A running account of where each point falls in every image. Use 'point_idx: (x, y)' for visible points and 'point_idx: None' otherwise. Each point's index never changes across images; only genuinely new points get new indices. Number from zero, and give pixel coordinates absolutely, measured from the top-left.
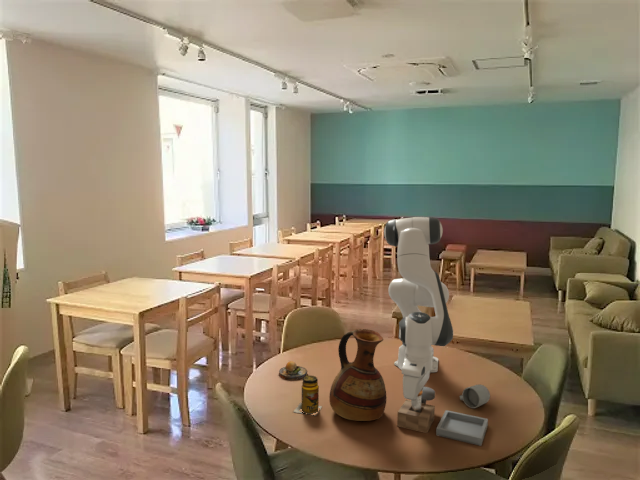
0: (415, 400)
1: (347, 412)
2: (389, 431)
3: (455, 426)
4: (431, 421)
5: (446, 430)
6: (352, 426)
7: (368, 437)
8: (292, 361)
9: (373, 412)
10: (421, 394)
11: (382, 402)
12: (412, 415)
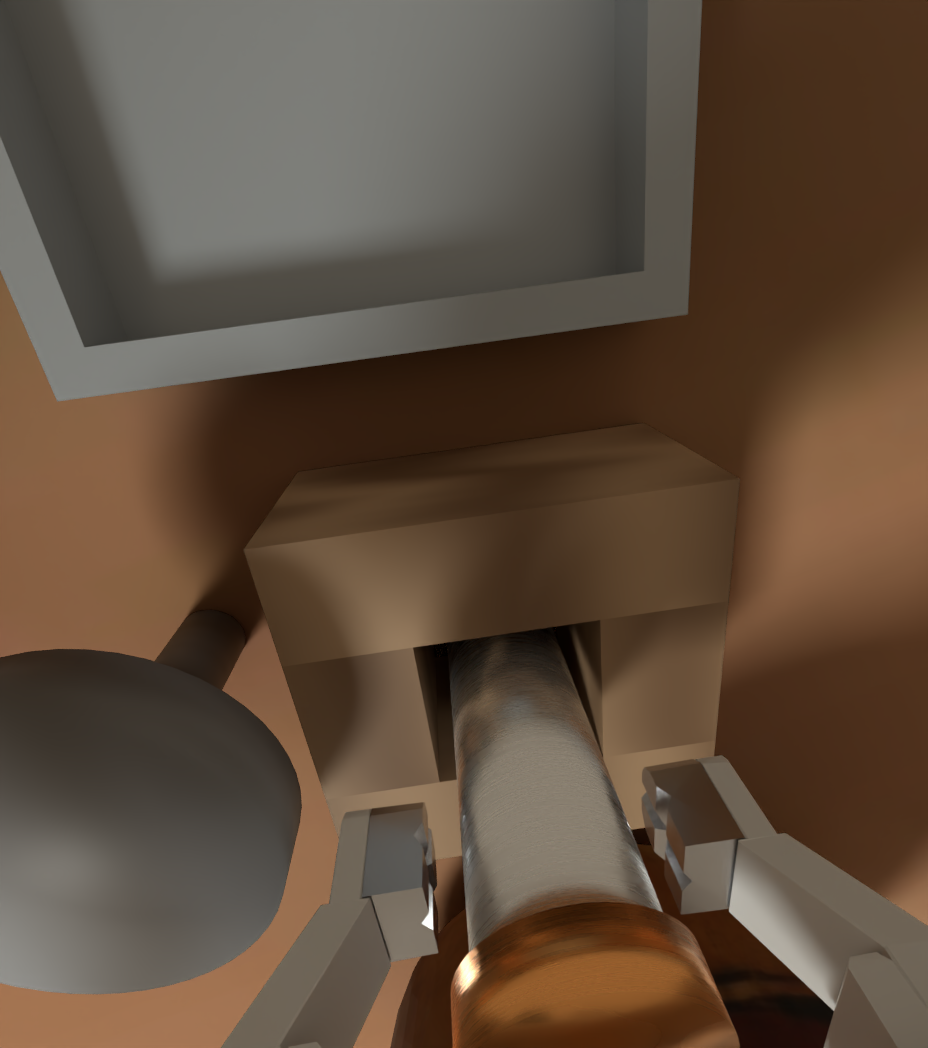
0: (802, 861)
1: None
2: (754, 700)
3: (319, 128)
4: (439, 464)
5: (691, 143)
6: None
7: (899, 766)
8: None
9: None
10: (621, 920)
11: (748, 1020)
12: (721, 671)
